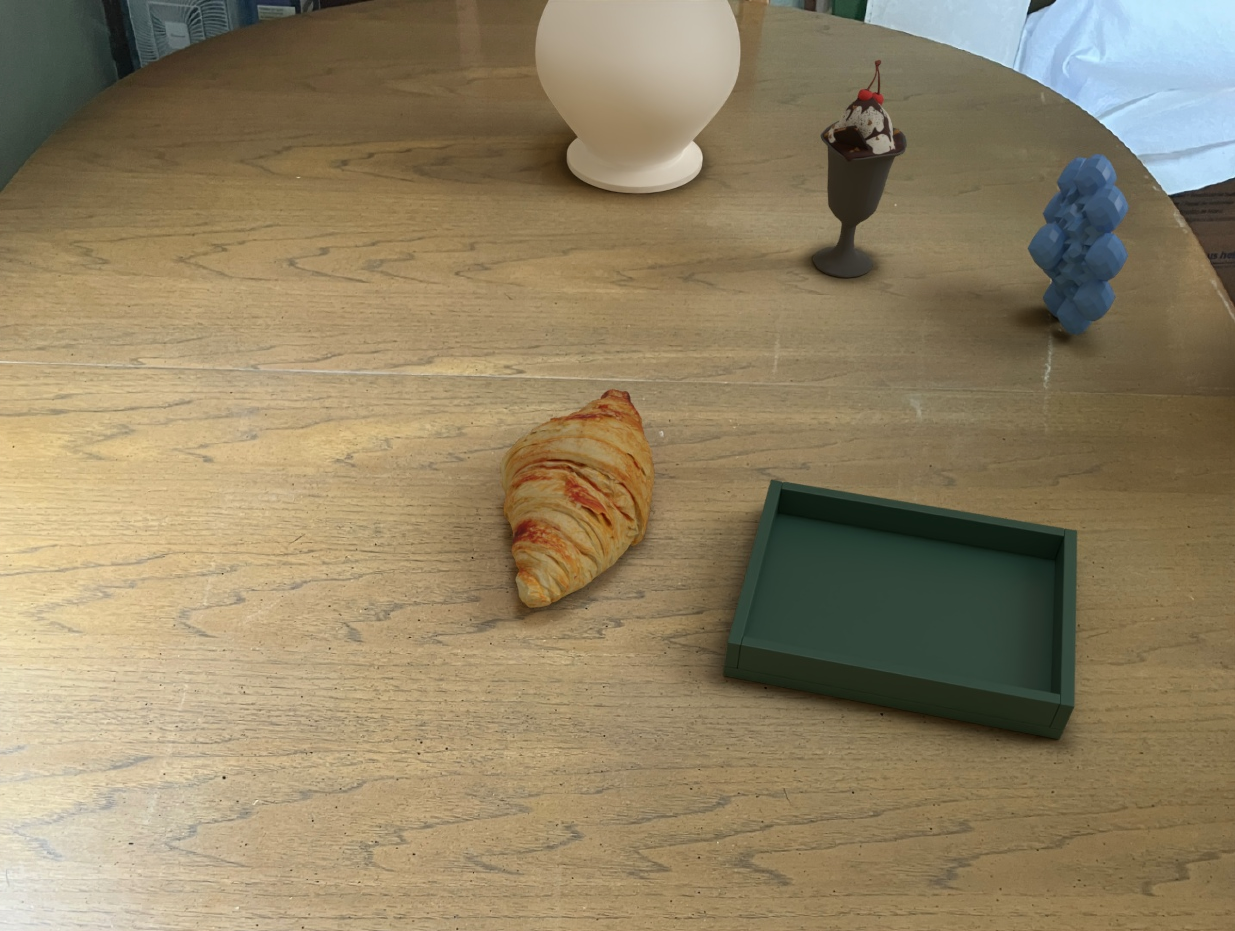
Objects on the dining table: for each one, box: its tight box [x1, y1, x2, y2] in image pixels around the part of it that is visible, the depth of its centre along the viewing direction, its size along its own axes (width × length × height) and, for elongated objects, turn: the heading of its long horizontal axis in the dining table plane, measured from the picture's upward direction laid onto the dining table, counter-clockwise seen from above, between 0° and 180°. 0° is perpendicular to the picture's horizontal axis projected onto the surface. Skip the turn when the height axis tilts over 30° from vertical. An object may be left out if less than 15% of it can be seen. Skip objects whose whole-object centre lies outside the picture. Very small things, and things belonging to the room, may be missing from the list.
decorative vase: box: [534, 0, 741, 194], centre depth 104 cm, size 18×18×25 cm
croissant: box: [499, 388, 656, 609], centre depth 80 cm, size 21×10×8 cm, turn 166°
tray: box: [722, 479, 1078, 740], centre depth 75 cm, size 20×16×3 cm
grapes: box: [1027, 153, 1130, 336], centre depth 94 cm, size 12×7×12 cm, turn 7°
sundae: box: [812, 59, 908, 279], centre depth 97 cm, size 7×7×15 cm
